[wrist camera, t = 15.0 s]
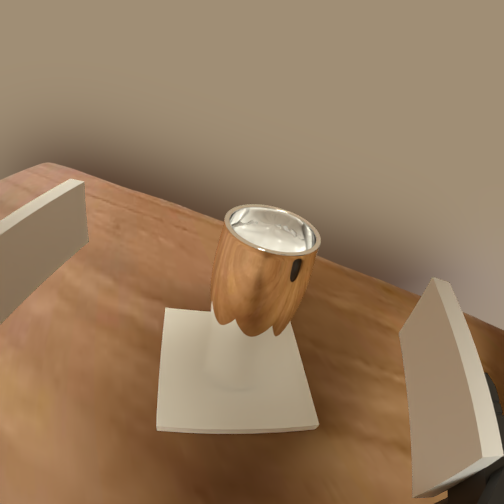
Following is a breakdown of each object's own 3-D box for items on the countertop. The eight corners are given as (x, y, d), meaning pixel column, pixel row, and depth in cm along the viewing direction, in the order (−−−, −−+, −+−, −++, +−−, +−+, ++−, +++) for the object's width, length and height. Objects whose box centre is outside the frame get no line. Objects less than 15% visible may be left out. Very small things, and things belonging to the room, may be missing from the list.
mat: (286, 322, 37) (288, 316, 36) (315, 429, 25) (319, 424, 25) (165, 314, 34) (165, 307, 33) (156, 430, 22) (156, 425, 22)
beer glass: (281, 386, 28) (343, 254, 20) (209, 401, 25) (242, 259, 17) (254, 333, 33) (294, 204, 25) (190, 341, 30) (209, 201, 22)
